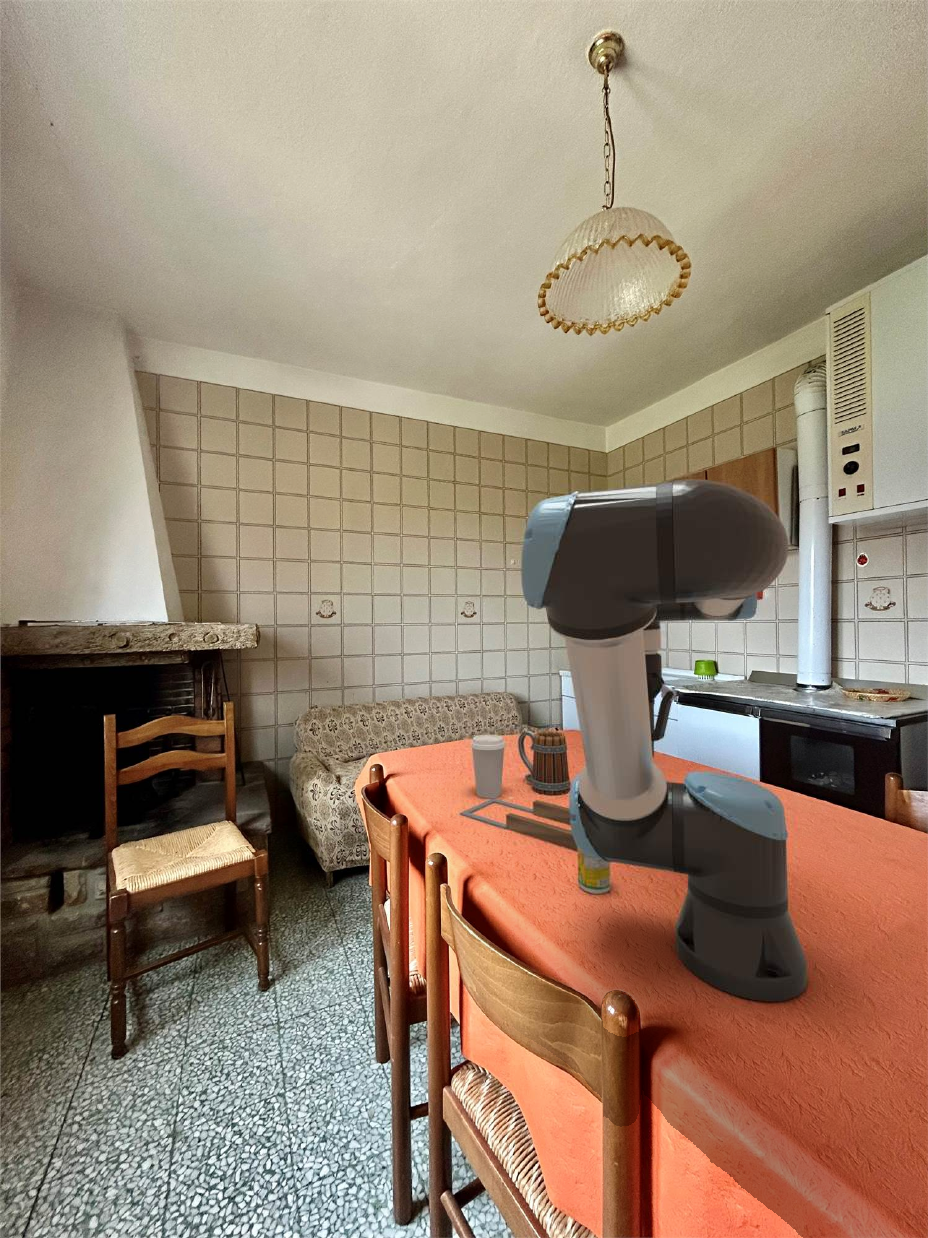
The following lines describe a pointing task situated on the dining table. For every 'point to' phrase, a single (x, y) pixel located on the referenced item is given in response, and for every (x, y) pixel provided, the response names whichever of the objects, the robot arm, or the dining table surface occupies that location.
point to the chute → (544, 824)
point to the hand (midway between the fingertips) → (643, 775)
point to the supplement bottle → (593, 874)
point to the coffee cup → (488, 764)
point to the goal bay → (468, 813)
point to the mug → (546, 762)
